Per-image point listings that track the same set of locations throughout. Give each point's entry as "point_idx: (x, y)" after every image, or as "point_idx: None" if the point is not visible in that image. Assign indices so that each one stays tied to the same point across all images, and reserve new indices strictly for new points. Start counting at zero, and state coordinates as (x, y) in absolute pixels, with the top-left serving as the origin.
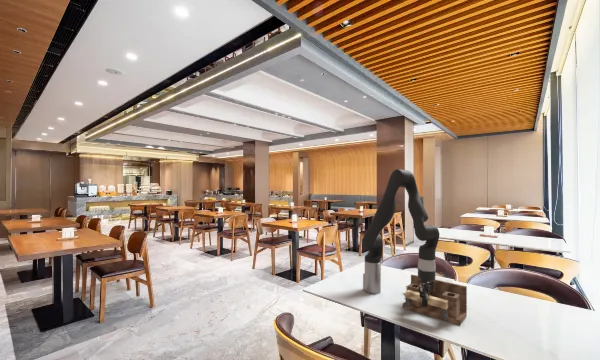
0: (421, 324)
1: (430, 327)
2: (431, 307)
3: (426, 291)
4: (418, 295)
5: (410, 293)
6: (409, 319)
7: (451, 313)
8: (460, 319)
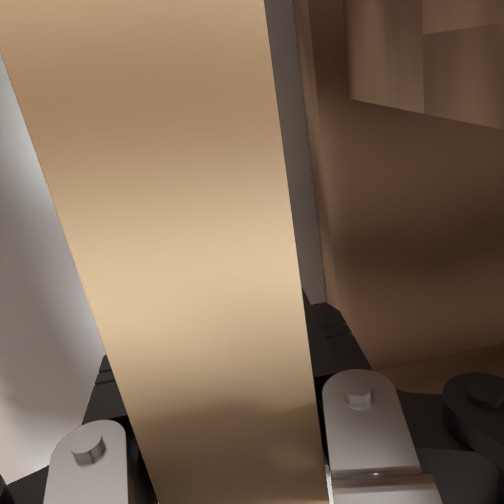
0: (32, 295)
1: (63, 375)
2: (480, 206)
3: (411, 461)
4: (105, 341)
5: (25, 78)
6: (3, 141)
7: None
8: None
